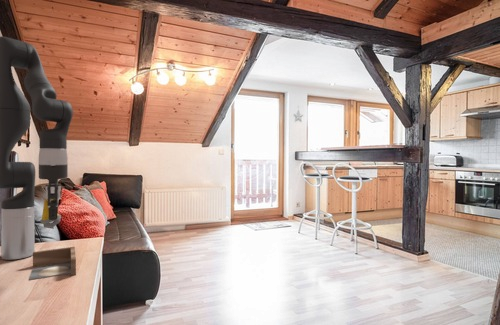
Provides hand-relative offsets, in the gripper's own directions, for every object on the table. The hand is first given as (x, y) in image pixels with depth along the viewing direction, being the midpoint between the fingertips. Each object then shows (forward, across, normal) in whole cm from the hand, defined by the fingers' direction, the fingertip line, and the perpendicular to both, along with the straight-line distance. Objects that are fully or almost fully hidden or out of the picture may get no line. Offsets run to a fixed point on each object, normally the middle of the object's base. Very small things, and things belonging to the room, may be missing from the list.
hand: (53, 217), depth 93 cm
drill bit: (+4, 0, 0) cm, 4 cm away
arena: (+17, +3, 0) cm, 17 cm away
